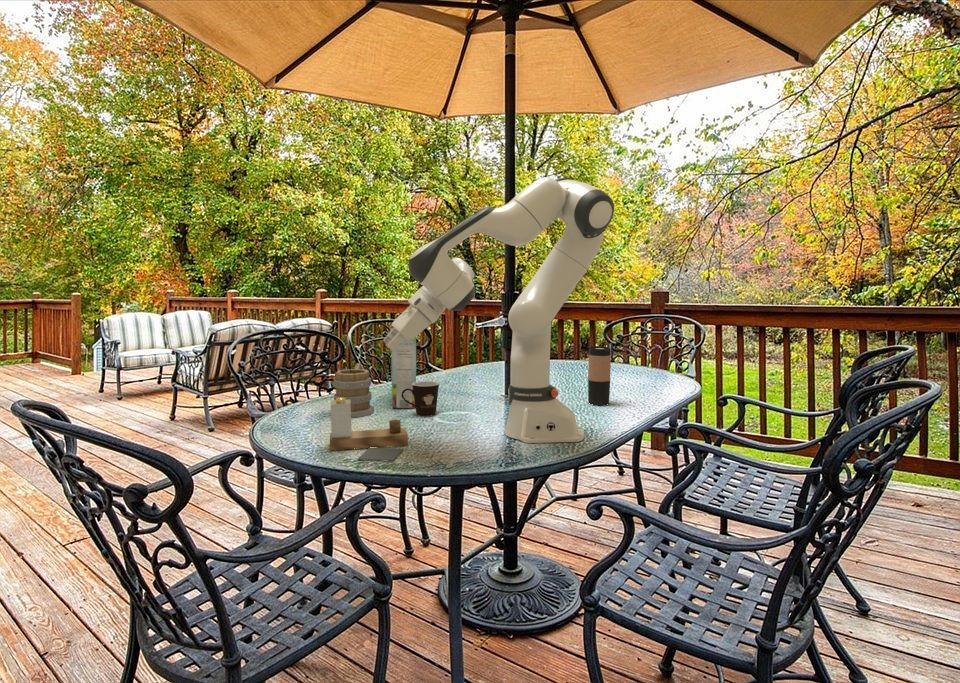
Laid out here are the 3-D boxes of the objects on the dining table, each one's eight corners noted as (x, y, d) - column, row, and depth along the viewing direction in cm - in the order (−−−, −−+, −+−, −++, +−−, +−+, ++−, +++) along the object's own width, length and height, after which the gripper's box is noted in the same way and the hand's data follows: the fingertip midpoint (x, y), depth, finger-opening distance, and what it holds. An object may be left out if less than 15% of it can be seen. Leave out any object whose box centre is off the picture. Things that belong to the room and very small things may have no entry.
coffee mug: (441, 410, 187) (441, 381, 186) (436, 417, 179) (436, 386, 178) (407, 410, 188) (406, 381, 187) (401, 416, 180) (400, 385, 179)
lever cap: (351, 432, 151) (350, 395, 150) (351, 437, 146) (350, 399, 145) (332, 433, 150) (331, 396, 149) (331, 438, 145) (330, 400, 144)
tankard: (368, 417, 178) (367, 371, 177) (328, 417, 179) (327, 371, 177) (380, 403, 198) (379, 362, 196) (345, 403, 198) (343, 362, 197)
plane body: (405, 438, 155) (404, 417, 155) (407, 445, 149) (407, 423, 148) (330, 443, 151) (330, 421, 150) (330, 451, 144) (329, 428, 143)
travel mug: (587, 401, 202) (588, 346, 199) (608, 401, 201) (610, 346, 198) (588, 405, 194) (589, 348, 192) (610, 406, 193) (612, 349, 191)
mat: (403, 450, 145) (403, 448, 145) (393, 461, 136) (393, 460, 136) (369, 449, 146) (369, 447, 146) (357, 460, 137) (357, 458, 137)
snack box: (418, 408, 191) (417, 333, 188) (392, 409, 189) (390, 334, 186) (415, 395, 212) (413, 328, 209) (391, 396, 211) (390, 328, 208)
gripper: (409, 297, 157) (374, 332, 156) (421, 301, 138) (382, 342, 137) (425, 313, 159) (391, 348, 158) (439, 319, 140) (400, 359, 138)
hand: (387, 345), depth 147 cm, fingers open, 8 cm apart
